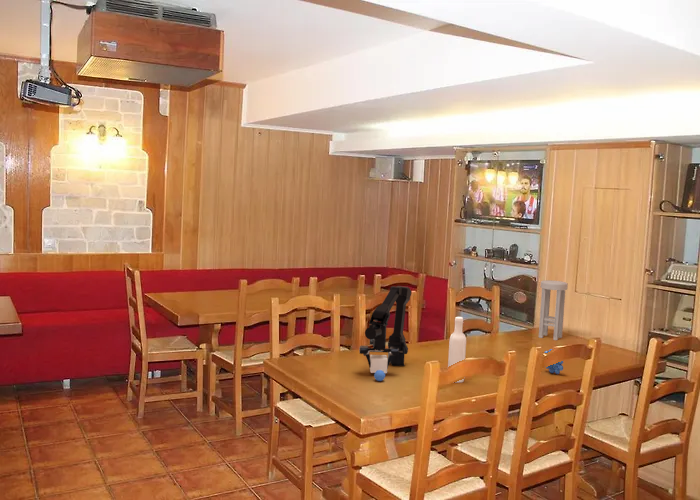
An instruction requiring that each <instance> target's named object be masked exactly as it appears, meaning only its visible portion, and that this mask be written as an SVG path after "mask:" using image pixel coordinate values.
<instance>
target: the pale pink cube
mask: <svg viewBox="0 0 700 500" xmlns="http://www.w3.org/2000/svg"><path fill="white" fill-rule="evenodd" d="M387 362H388V355H386V354H370V364H371V367H369V371H370V373H371V374H375V372H376V371H377V370H382V371H383V372H384V373H385V374H388V368H387Z"/></svg>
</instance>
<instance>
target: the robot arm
mask: <svg viewBox="0 0 700 500" xmlns="http://www.w3.org/2000/svg"><path fill="white" fill-rule="evenodd" d="M411 296H412V290H411V288H410V287H408V286H403V285H397V286H393V285H392V286H390V288H389V292H388V293H387V295H386V296H385V298H384V299H383V301H382V303H381V304H380V305H378V306H376V307H375V308H374V310H373V311H372V313H371V315H370V316H371V317H370V319H369V322H368V327H367V328H366V329H365V331H364V335H365V337H366V338H367V340H369V345H370V346H371V345H372V347H369V346H368V345H360V346H359V348H358V349H359V354H360V355H363V356H364V357H366V360H367V364H368V367H369V368H370V367H371V364H370V355H371V354H370V353H387V359H388V362H387V369H388V368H389V366H390V365H391V366H393V367H395V366H397V367H404V366H405V355H407V354H408V352H409V348H408V346H407V343H406V338H405V334H404V327H405V316H406V309H407V308H406V306H407V304H408V302H409V301H410V300H411ZM395 303H396V305H395ZM394 305H395V315H394V323H393V330H392V331H393V332H392V333H391V335H389V337H388V342H387V326H388V325H389V324H388V322H389V320H390V317H391V312H390V311H391V309H392V308H393V306H394ZM386 343H387V345H386ZM386 346H387V348H386Z"/></svg>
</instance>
